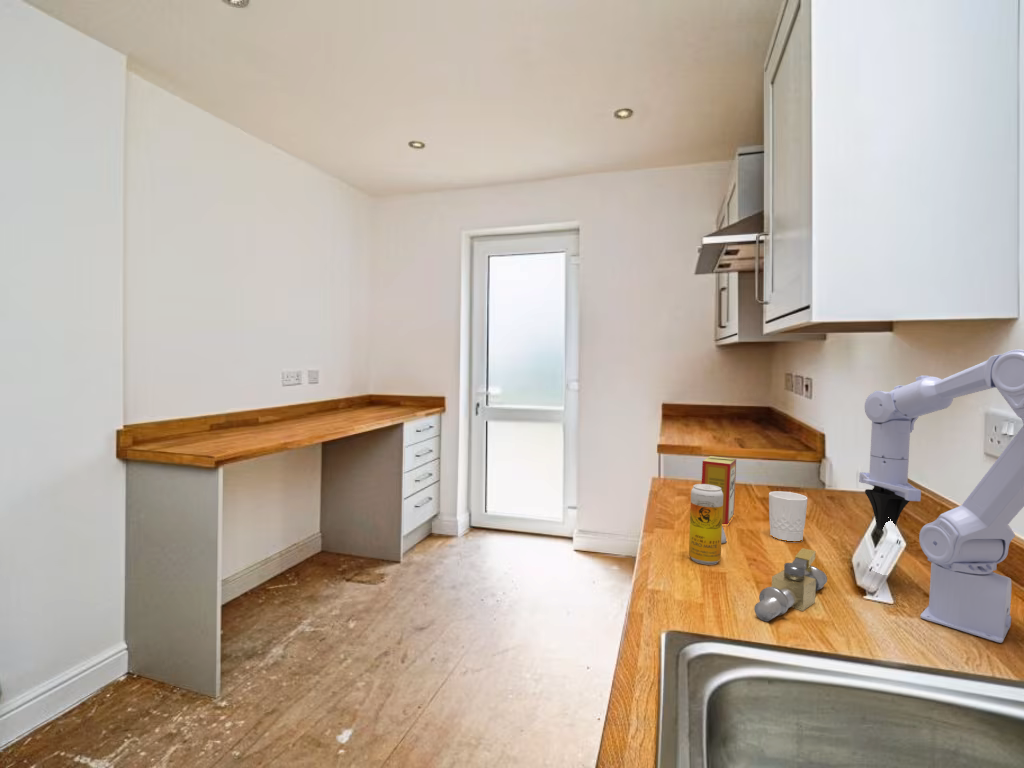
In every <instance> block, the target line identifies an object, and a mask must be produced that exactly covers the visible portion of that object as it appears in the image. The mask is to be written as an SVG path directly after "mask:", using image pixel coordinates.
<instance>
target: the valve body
mask: <svg viewBox="0 0 1024 768" xmlns="http://www.w3.org/2000/svg"><path fill="white" fill-rule="evenodd" d="M826 583H828V577H827V574H826V573H825V572H824V571H823V570H820V569H819V568H817V567H816V566H814V565H810V567H809V568H808V567H807V568H806V570H805V574H804V580H792V579H789V578H787V577H785V576H784V569H783V570H781V571H779V572H778V573H776V574H774V575H772V576H771V586H767V587H765V588H763V589H762V590H761V591H760V592H759V596H758V598H759V599H758V600H759V601H758V602H757V603H755V605H754V613H755V616H756V617H757V618H758V620H759V619H760V621H763V622H769V621H771V620H773V619H775V618H776V617H779V616H782V615H784V614H785V613H786V612H787V611H788V609H789V608H793V609H796V610H798V611H801V612H804V611H806V610H807V609H808V608H809V607H811V606H812V605H814V604H815V603H816V592H817V591H819V590H821V589H823V588H824V586H825V585H826Z"/></svg>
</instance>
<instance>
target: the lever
mask: <svg viewBox="0 0 1024 768" xmlns="http://www.w3.org/2000/svg"><path fill="white" fill-rule="evenodd" d="M797 552H798V553H796V555H795V556H794V560H792V562H786V563H784V565H783V567H784V568H783V570H784V576H785V577H787V578H789V579H792V580H804V574H805V570H806V568H807V567H808V568H809V567H810V566H812V564H813V562H814V561H815V559H816V550H813V549H808V548H804V547H802V548H801V549H800V550H799V551H797Z"/></svg>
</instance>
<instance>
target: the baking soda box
mask: <svg viewBox="0 0 1024 768" xmlns="http://www.w3.org/2000/svg"><path fill="white" fill-rule="evenodd" d="M701 467H702V468H701V469H702V470H701V484H709V485H715V486H718V487H720V488H721V490H722V492H723V513H722V524H728V523H729V521H730V520H731V518H732V517H733V515H734V516H735V503H736V502H735V498H736V497H735V496H736V475H737V458H733V457H723V456H722V457H721V456H713V455H710V456H708V457H706V458H705V459H703V460H702V466H701Z"/></svg>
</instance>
